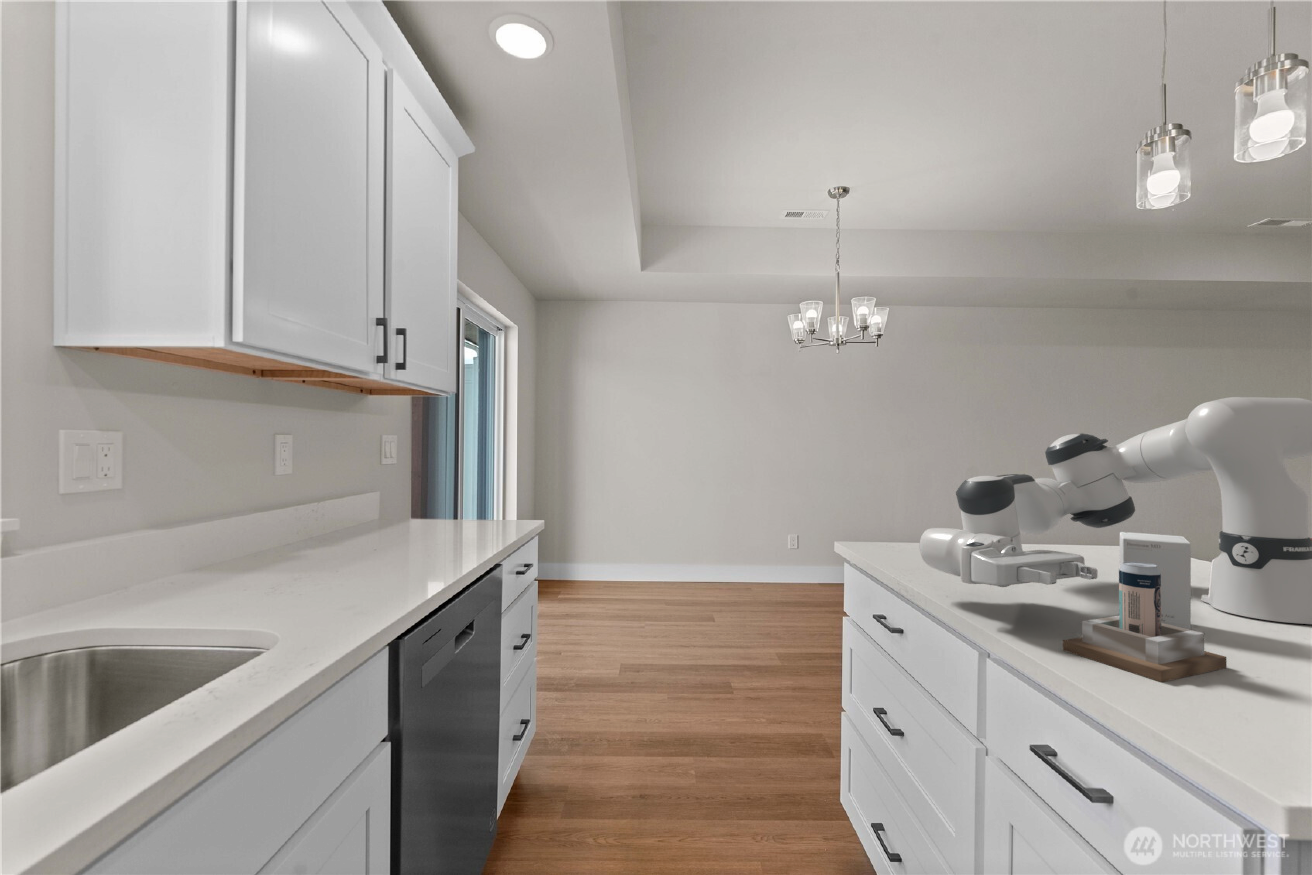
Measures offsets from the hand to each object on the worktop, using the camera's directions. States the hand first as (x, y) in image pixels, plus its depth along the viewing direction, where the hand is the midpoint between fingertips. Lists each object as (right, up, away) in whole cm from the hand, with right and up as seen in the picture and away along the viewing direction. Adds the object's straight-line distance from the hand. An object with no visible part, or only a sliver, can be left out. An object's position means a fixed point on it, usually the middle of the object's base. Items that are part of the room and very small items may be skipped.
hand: (1074, 576), depth 96 cm
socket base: (+4, -10, -9) cm, 14 cm away
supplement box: (+19, -10, +8) cm, 23 cm away
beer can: (+4, -9, -9) cm, 13 cm away
